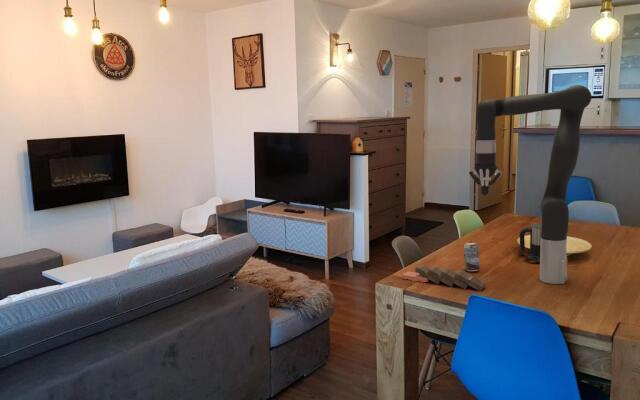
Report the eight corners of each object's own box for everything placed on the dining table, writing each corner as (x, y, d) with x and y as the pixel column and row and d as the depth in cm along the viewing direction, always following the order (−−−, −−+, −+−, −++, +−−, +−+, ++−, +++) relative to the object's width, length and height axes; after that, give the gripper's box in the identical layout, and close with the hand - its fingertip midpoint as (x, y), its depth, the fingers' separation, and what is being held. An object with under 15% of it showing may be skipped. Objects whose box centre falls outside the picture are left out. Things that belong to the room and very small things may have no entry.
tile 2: (471, 281, 199) (446, 267, 204) (467, 284, 195) (441, 270, 200) (469, 285, 200) (444, 271, 205) (465, 289, 196) (439, 275, 201)
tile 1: (486, 282, 196) (460, 269, 201) (482, 286, 192) (455, 272, 197) (484, 287, 197) (458, 273, 202) (480, 291, 193) (454, 277, 198)
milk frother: (547, 253, 236) (548, 222, 234) (561, 263, 221) (562, 230, 218) (516, 254, 237) (516, 223, 235) (528, 264, 221) (528, 231, 219)
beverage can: (469, 273, 213) (469, 246, 211) (460, 269, 220) (460, 242, 218) (482, 271, 215) (482, 244, 213) (473, 267, 222) (473, 240, 220)
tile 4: (445, 277, 205) (422, 264, 212) (439, 280, 202) (416, 266, 208) (443, 281, 206) (421, 268, 212) (437, 284, 202) (414, 271, 209)
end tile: (431, 275, 209) (407, 271, 215) (426, 278, 205) (402, 274, 211) (431, 280, 209) (407, 276, 215) (426, 283, 205) (402, 279, 211)
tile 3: (458, 279, 202) (434, 265, 208) (453, 282, 198) (428, 268, 204) (456, 283, 203) (432, 269, 209) (451, 287, 199) (427, 273, 205)
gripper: (466, 152, 200) (465, 195, 203) (500, 152, 193) (500, 197, 196) (471, 150, 206) (471, 192, 209) (505, 150, 199) (504, 194, 202)
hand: (485, 195), depth 203 cm, fingers closed
